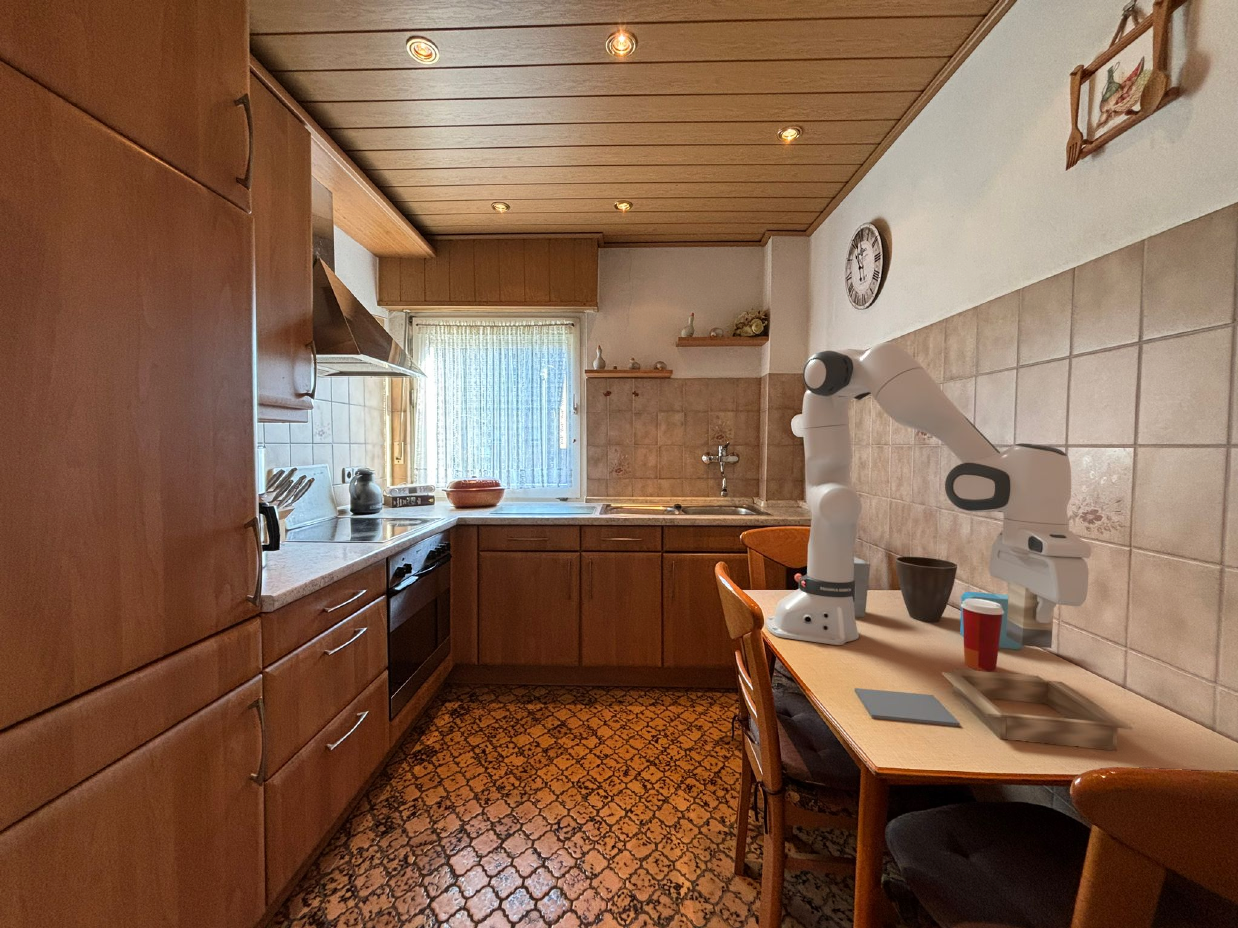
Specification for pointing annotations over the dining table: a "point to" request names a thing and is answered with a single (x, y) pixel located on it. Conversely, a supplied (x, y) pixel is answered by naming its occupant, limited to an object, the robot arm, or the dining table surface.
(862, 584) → the skincare box
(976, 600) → the paper cup
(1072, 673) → the dining table surface
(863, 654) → the dining table surface
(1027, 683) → the wooden frame
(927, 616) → the plant pot
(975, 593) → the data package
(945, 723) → the rubber mat
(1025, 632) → the box
